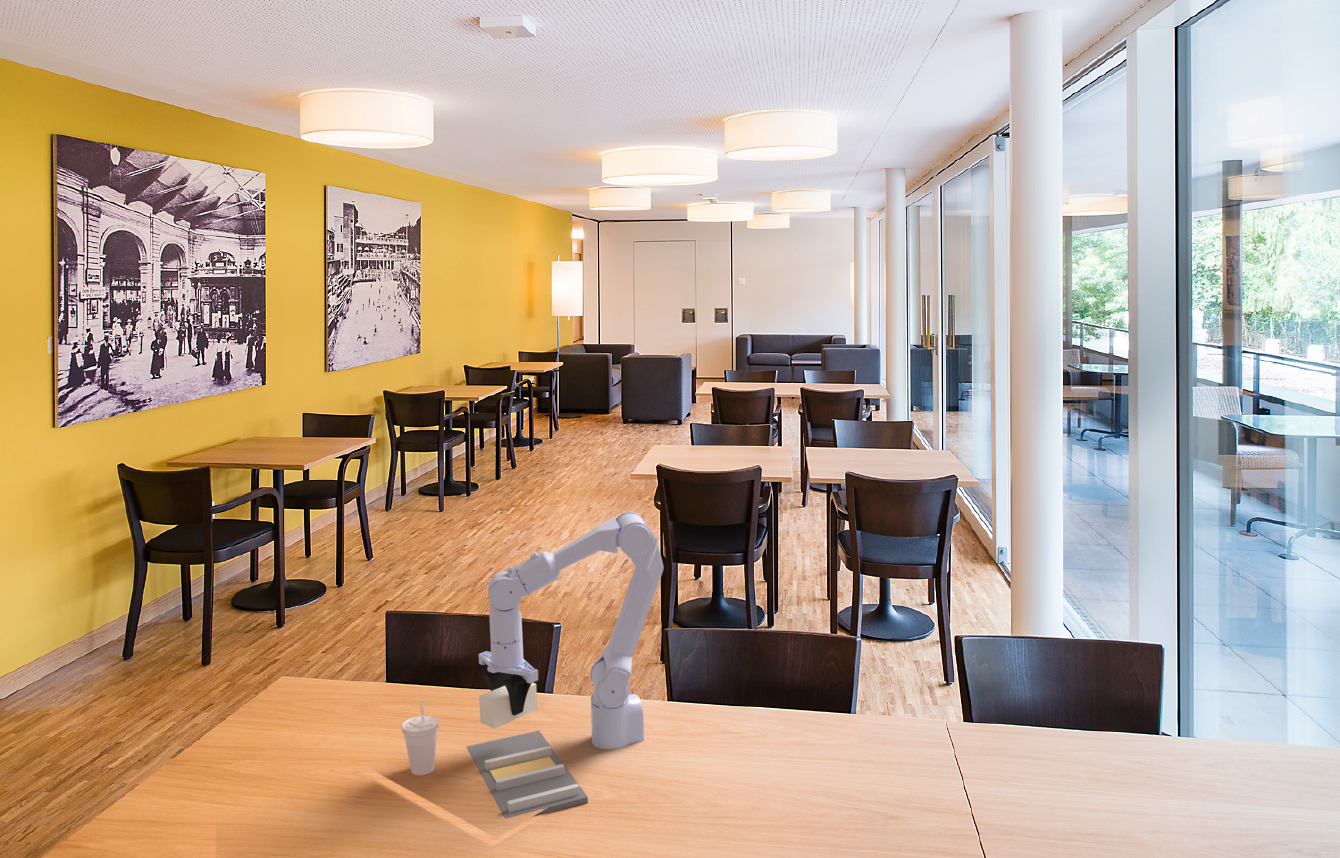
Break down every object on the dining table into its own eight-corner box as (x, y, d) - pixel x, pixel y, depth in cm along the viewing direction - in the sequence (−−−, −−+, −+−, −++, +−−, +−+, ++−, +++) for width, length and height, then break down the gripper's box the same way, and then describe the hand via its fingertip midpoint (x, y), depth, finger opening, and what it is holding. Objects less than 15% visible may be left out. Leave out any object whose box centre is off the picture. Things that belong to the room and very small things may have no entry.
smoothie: (431, 785, 158) (427, 709, 156) (397, 782, 159) (393, 706, 157) (447, 767, 164) (443, 693, 162) (414, 764, 165) (410, 691, 164)
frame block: (523, 703, 172) (522, 678, 171) (537, 709, 170) (536, 684, 169) (480, 722, 165) (479, 696, 164) (494, 728, 162) (493, 702, 161)
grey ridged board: (539, 735, 176) (538, 723, 176) (587, 802, 152) (587, 788, 151) (467, 751, 170) (466, 738, 170) (505, 824, 146) (505, 809, 145)
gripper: (464, 636, 167) (467, 706, 169) (515, 654, 158) (518, 729, 159) (494, 625, 172) (497, 693, 174) (545, 642, 163) (548, 715, 165)
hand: (509, 709), depth 167 cm, fingers closed on frame block, 4 cm apart
